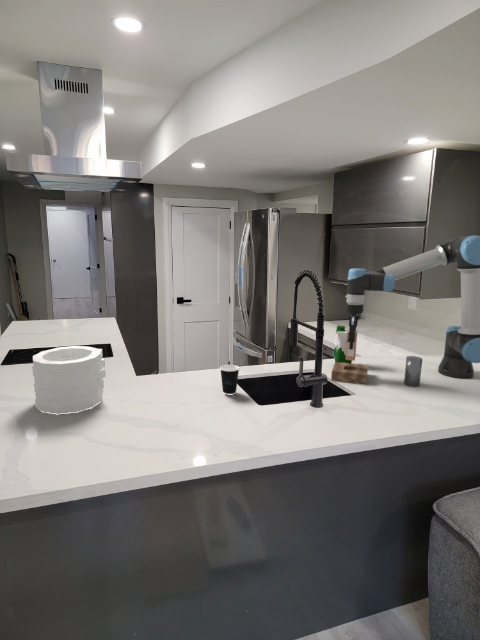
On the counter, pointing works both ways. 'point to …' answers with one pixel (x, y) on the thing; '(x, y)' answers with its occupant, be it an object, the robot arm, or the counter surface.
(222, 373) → the dixie cup
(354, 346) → the square peg
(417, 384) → the round post
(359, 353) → the counter surface
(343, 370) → the socket block
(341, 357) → the milk carton
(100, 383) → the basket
